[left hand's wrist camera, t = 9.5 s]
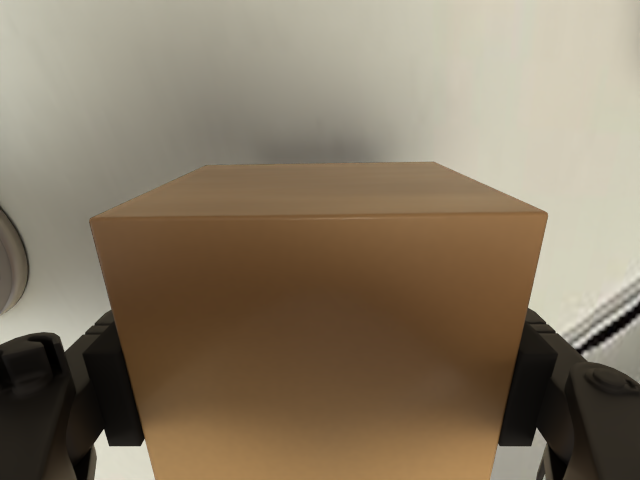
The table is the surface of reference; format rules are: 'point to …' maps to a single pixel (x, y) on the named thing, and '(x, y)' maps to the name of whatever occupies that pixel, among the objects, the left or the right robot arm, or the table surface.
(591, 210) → the table surface
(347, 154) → the table surface
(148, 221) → the wide beam
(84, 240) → the table surface
